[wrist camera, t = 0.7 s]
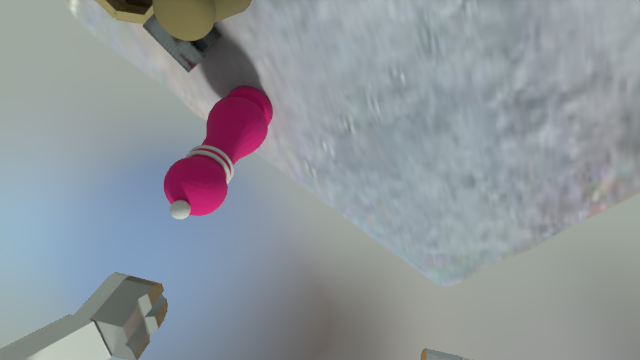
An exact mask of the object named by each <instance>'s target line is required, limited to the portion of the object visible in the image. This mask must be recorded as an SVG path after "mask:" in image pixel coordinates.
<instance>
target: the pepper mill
mask: <svg viewBox="0 0 640 360" xmlns="http://www.w3.org/2000/svg"><path fill="white" fill-rule="evenodd" d="M272 115H273V110H272V106H271V103H270V101H269V100H268V98H267V97H266V96H265V95H264V94H263V93H262V92H260V91H259V90H257V89H255V88H252V87H247V86H243V87H238V88H235V89H234V90H232V91H231V92H230V94H229V95H228V96H227V97H226V98H223V99H221V100H220V101H218V102H217V103H216V104H215V105H214V107H213V108H212V110H211V111H210V113H209V116H208V120H207V136H206V139H205V140H204V142H203V143H202V145H200V146H196V147H194V148H193V149H192V150H191V151H190V152H189V154H188V155H187V156H186V158H184V159H181V160H179V161H177V162H175V163H174V164H173V165H172V166H171V168H170V169H169V171H168V172H167V174H166V176H165V180H164V192H165V194H166V197H167V199H168V200H169V202H170V203H171V204H172V205H171V207H170V212H171V215H172V216H173V217H174V218H177V219H184V218H186V217H187V216H188V215H196V216H198V215H199V216H201V215H206V214H209V213H211V212H213V211H214V210H216V209H217V208H218V207H219V206H220V205H221V204H222V203H223V201H224V199H225V197H226V195H227V188H228V187H227V184H228V183H229V181H230V179H231V178H232V176H233V173H234V167H233V165H234V164H235V162H236V161H238V160H239V159H240V158H242V157H244V156H246V155H248V154H250V153H252V152H253V151H255V150H256V149H257V148H258V147H259V146H260V145H261V144H262V142H263V141H264V140H265V138H266V135H267V130H268V127H267V126H268V125H269V123H270V121H271V119H272Z"/></svg>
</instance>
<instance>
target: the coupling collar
mask: <svg viewBox="0 0 640 360" xmlns="http://www.w3.org/2000/svg"><path fill="white" fill-rule="evenodd" d="M95 1H96V2H98V3H99V4H100V5H101V6H102V7H103V8H104V9H105V10H106V11H107V12H108V13H109V14H110V15H111V16H112V17H113V18H115V17H116V20H120V21H127V22H133V23H139V24H144V23H145V22H146V21H147V20H148V19H149V18H150V17H151V16H152V15H153V14H154V11H153V1H152V0H95Z"/></svg>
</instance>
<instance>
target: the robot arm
mask: <svg viewBox="0 0 640 360" xmlns="http://www.w3.org/2000/svg"><path fill="white" fill-rule="evenodd" d="M163 291H164V289H163V286H162V284H161V283H157V282H153V281H149V280H145V279H141V278H137V277H133V276H130V275H126V274H122V273H118V272H115V273H113V274H112V275H110V276H109V277H108V278H107V279H106V280H105V281H104V282H103V284H102V285H101V286H100V287H99V288H98V289H97V290H96V291H95V292H94V293H93V295H92V296H91V297H90V298H89V299H88V300H87V301H86V302H85V303H84V304H83V305H82V307H81V308H80V309H79V310H78V311H77V312H76V313H75V314H74V315H70V314H69V315H67V316H65V317H63V318H61V319H59V320H57V321H55V322H53V323H51V324H49V325H47V326H45V327H43V328H41V329H39V330H37V331H35V332H33V333H31V334H29V335H27V336H25V337H23V338H21V339H19V340H17V341H15V342H13V343H11V344H9V345H7V346H5V347H3V348H1V349H0V360H108V359H109V358H110V357H111V356H115V357H119V358H123V359H127V360H138V359H139V358H140V356H141V354H142V353H143V351H144V350H145V348H146V347H147V345H148V344H149V342H150V333H152V332H154V331H155V330H157V329H159V327H160V326H161V324H162V322H163V321H164V318H165V316H166V313H167V308H168V303H167V299H166V298H165V297H164V296H163V295H162V293H163ZM110 355H111V356H110ZM421 360H472V359H468V358H464V357H460V356H456V355H452V354H448V353H443V352H439V351H435V350H430V349H426V348H425V349H423V351H422V353H421Z"/></svg>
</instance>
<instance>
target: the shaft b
mask: <svg viewBox="0 0 640 360" xmlns="http://www.w3.org/2000/svg"><path fill="white" fill-rule="evenodd" d="M143 28H144V29H145V30H146V31H147V32H148V33H149V34H150V35H151V36H152V37H153V38H154V39H155V40H156V41H157V42H158V43H159V44H160V45H161V46H162V47H163V48H164V49H165V50H166V51H167V52H168V53H169V54H170V55H171V56H172V57H173V58H174V59H175V60H176V61H177V62H178V63H179V64H180V65H181V66H182V67H183V68H184V69H185V70H186V71H187V72H188V73H189V72H190V71H191V70H192V69H193V68H194V67H195V66H196V65H197V64H198V63H199V62H200V61H201V60H202V59H204V57H205V55H204V54H203V53H204V52H205V51H206V50H207V49H208V48H209V47H210V46H211V45H212V44H213V43H214V42H215V41H216V40H217V39H218V38H219V37H220V36H221V35H220V34H219V33H218V31H217V30H216V29H215V28H214V27H212V30H211V31H210V32H209V33H208V34H207V35H206V36H204V37H203V38H201V39H198V40H195V41H184V40H181V39H178V38H175V37H174V36H172V35H171V34H169V33H167V32H166V31H165V30H164V28H163V27H162V26H161V25H160V24H159V22H158V20H157V19H156V17H155V14H153V15H152V16H151V17H150V18H149V19H148V20H147V21H146V22H145V23H144V25H143Z"/></svg>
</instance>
